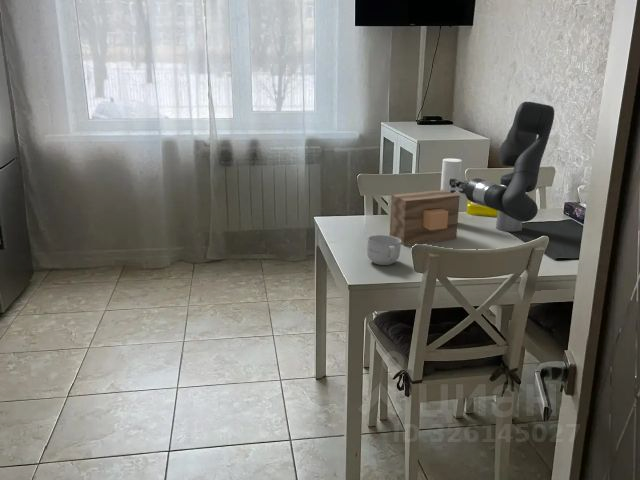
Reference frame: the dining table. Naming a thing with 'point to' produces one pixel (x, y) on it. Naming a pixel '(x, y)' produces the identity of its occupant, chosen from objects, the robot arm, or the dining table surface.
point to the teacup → (383, 249)
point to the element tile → (480, 210)
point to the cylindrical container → (450, 173)
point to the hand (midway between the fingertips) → (451, 181)
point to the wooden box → (410, 216)
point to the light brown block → (435, 219)
